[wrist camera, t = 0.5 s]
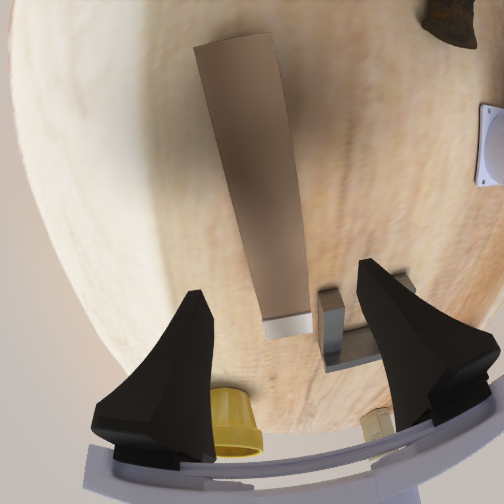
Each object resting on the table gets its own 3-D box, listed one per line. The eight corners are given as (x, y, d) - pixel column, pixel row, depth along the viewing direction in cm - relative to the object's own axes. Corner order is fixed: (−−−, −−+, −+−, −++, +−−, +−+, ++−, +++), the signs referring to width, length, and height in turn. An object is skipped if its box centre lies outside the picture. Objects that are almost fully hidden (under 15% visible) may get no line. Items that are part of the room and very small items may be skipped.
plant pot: (198, 406, 41) (196, 457, 33) (186, 380, 35) (181, 443, 27) (259, 406, 41) (262, 458, 33) (260, 380, 35) (264, 444, 27)
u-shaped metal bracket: (405, 272, 24) (422, 300, 21) (391, 326, 29) (402, 352, 26) (317, 292, 25) (327, 325, 22) (318, 344, 30) (325, 373, 27)
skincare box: (375, 408, 48) (386, 454, 38) (388, 406, 49) (400, 450, 39) (358, 419, 52) (368, 462, 42) (372, 417, 53) (382, 458, 43)
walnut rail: (263, 45, 13) (272, 31, 9) (301, 287, 25) (312, 332, 20) (205, 57, 13) (191, 47, 9) (263, 294, 25) (267, 340, 21)
